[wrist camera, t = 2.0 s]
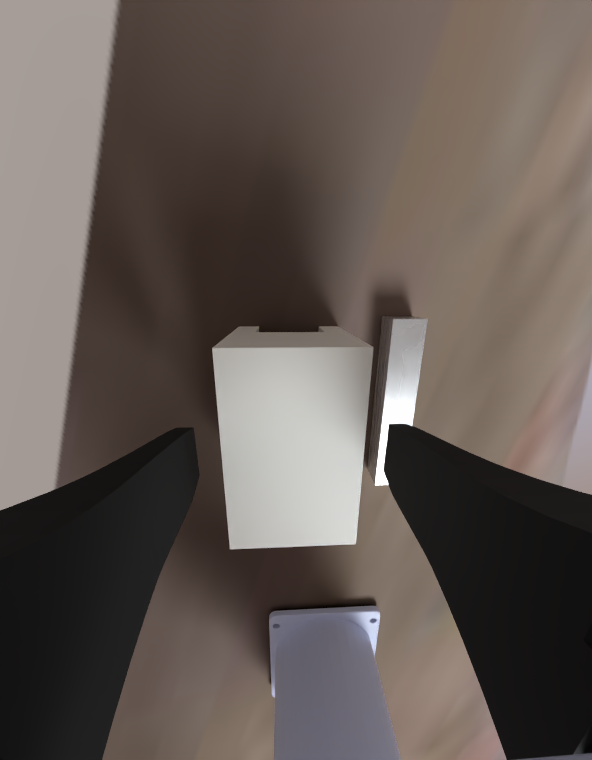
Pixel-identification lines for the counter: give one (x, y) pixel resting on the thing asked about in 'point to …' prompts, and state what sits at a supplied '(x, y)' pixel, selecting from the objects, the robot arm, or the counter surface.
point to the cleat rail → (394, 383)
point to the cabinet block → (292, 434)
